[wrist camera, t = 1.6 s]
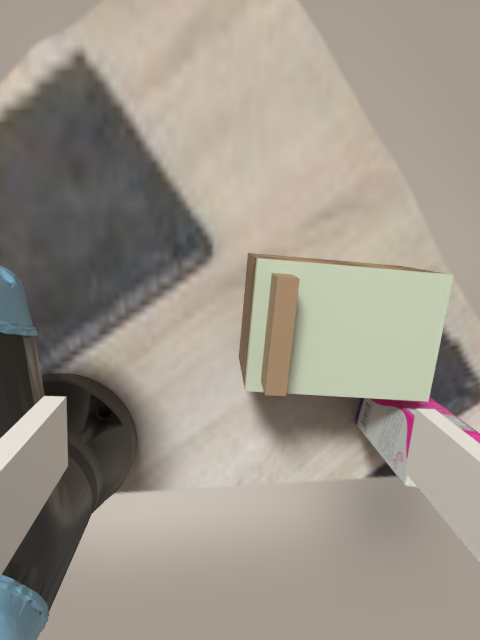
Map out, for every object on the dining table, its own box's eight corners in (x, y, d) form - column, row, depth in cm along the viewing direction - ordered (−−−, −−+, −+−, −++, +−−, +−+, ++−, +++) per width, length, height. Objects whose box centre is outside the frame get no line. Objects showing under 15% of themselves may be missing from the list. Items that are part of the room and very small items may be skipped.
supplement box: (402, 431, 45) (464, 497, 34) (353, 423, 44) (400, 487, 33) (417, 385, 44) (486, 437, 32) (367, 376, 43) (421, 425, 32)
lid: (244, 386, 33) (248, 406, 30) (256, 257, 31) (262, 261, 27) (422, 396, 35) (448, 417, 31) (446, 273, 32) (478, 279, 28)
